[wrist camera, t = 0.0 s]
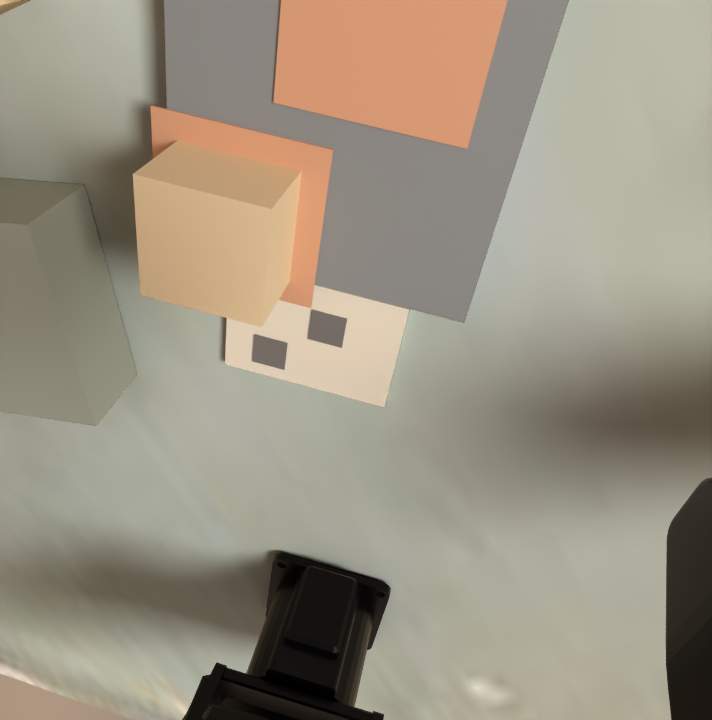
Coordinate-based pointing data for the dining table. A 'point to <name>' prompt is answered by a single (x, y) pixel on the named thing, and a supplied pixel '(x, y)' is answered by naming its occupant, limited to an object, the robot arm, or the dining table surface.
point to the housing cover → (57, 307)
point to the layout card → (324, 344)
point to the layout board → (335, 149)
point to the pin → (10, 4)
